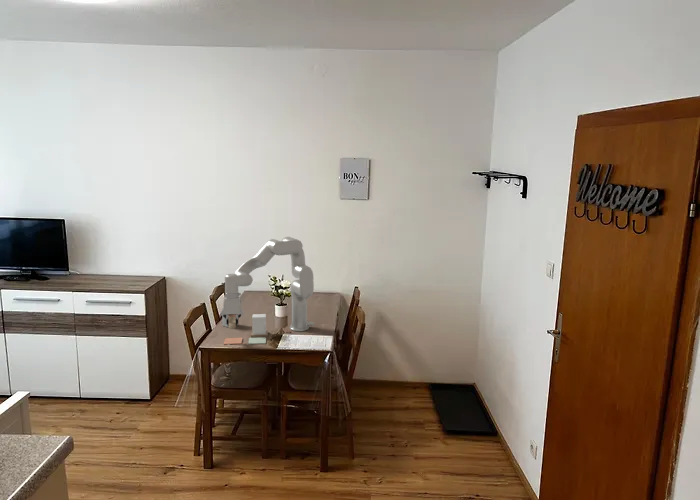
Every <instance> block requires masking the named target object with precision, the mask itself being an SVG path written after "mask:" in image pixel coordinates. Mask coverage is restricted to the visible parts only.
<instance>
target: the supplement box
mask: <svg viewBox="0 0 700 500" xmlns="http://www.w3.org/2000/svg"><path fill="white" fill-rule="evenodd" d="M222 310H223V306H222V307H221V311H222ZM221 317H222V321H221V322H222V327H226V328H229V326H228V324H226V318H224V317H223V316H222V315H221ZM238 325H239V323H238V324H237V326H238Z"/></svg>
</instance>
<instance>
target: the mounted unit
mask: <svg viewBox="0 0 700 500" xmlns="http://www.w3.org/2000/svg"><path fill="white" fill-rule="evenodd" d="M251 318H252V319H251V320H252V323H251V324H252V330H251V332H250V338H260V337H266V338H267V337H269V335H268V334H269V330H267V314H266V313H260V314H259V313H253V314H252V316H251Z"/></svg>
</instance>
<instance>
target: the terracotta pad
mask: <svg viewBox="0 0 700 500" xmlns="http://www.w3.org/2000/svg"><path fill="white" fill-rule="evenodd" d="M228 344H232V345H242V344H243V337H226V338H225V339H224V342H223V345H224V346H228Z"/></svg>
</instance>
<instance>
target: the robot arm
mask: <svg viewBox="0 0 700 500" xmlns="http://www.w3.org/2000/svg"><path fill="white" fill-rule="evenodd" d="M303 247H304V245H303V243H302V241H301V240H299V239H297V238H294V237H291V236H285V237H283V238H282V240H278V239H275V238H274V239H273V238H270V239H269V240H267V241H266V243H265V244H264V245H263V246H262V247H261V248H260V249H259V251H258V252H256V254H255V255H253V256H252V257H251V258H249V259H248V260H246V261H244V263H242V264H241V265H240V266H239V267H238V269H237V270H236V271H235V272H234V273H228V274H226V275H225V276H224V297H223V305H222V307H223V310H222V309H221V311H220V316H221V317H222V316H223V317H224V318H226V324H228V326H229V317H228V315H233V314H235V315H236V327H237V326H238V325H239V318H241V317H242V316H243V315H244V314H245V311H244V310H243V309H242V301H241V297H240V296H242V293H241V292H239V287H249V286H250V285H252V283H253V280H254V279H253V276H252V275H251V274H250V273H252V272H253V271H254V270H257V269H259V268H263V267H266V266H267V264H268V263H269V262H270V261H271V259H272V258H273V257H274V256H275V255H276V256H287V255H288V256H290V259H291V274H292V276H293V277H294V278H295V279H294V280H293V281H292V282H291V284H290V295H291V296H290V297H291V324H290V325H289V329H290V330H291V331H294V332H305V331H308V330H309V329H310V326H315V321H314V322H313V321H308V299H309V298H311V297H312V296H313V294H314V289H315V288H314V285H315V283H314V272H313V269H312V268H311V267H310V266H308V265H306V257H305V251H304V249H303ZM237 324H238V325H237Z"/></svg>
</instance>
